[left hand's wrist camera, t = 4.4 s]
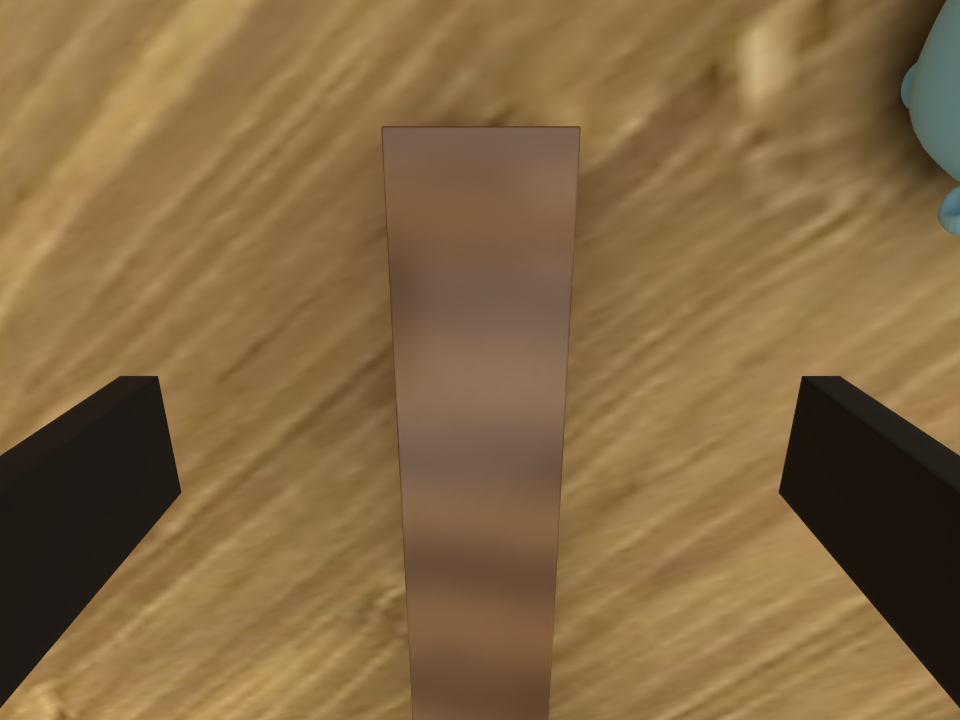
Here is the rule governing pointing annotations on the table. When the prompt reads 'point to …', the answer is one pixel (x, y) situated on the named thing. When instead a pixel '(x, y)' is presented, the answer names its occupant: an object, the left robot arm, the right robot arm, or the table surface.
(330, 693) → the table surface
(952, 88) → the teapot
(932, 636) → the left robot arm
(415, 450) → the bar
